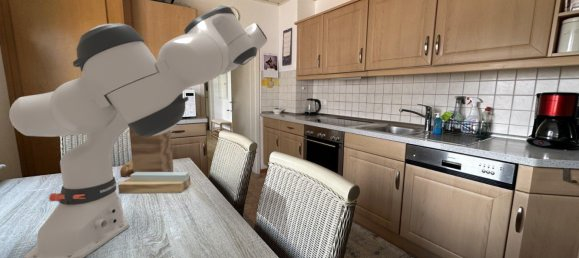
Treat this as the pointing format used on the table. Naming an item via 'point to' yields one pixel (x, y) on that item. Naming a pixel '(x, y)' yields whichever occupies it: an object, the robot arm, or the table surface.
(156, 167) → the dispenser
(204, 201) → the table surface
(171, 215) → the table surface
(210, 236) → the table surface
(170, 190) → the board
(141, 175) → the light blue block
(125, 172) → the bread roll
